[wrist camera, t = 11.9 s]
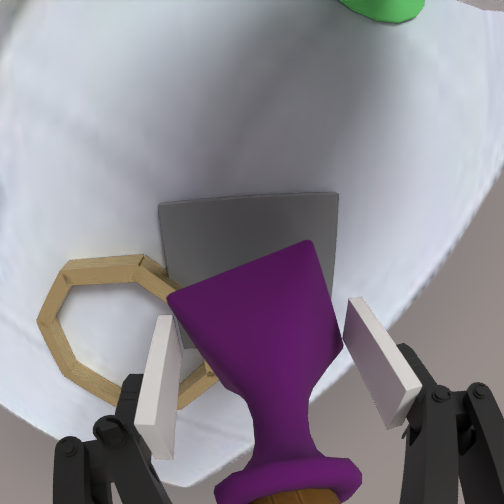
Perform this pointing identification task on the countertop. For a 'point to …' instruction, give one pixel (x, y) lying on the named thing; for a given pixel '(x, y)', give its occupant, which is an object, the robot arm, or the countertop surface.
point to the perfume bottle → (272, 370)
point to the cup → (407, 8)
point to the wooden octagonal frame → (103, 273)
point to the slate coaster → (244, 233)
